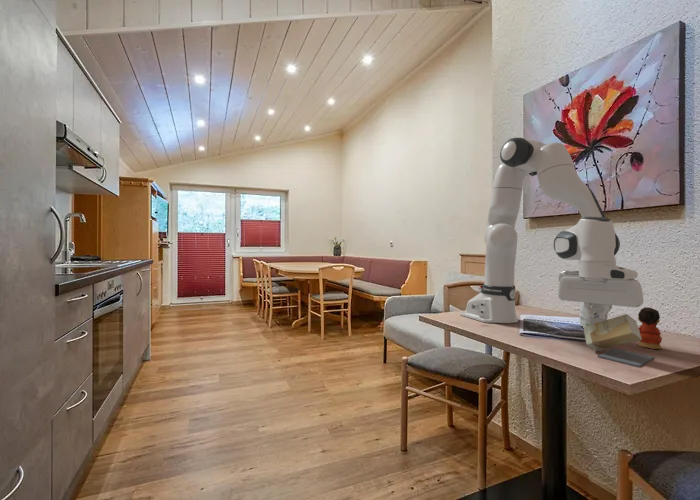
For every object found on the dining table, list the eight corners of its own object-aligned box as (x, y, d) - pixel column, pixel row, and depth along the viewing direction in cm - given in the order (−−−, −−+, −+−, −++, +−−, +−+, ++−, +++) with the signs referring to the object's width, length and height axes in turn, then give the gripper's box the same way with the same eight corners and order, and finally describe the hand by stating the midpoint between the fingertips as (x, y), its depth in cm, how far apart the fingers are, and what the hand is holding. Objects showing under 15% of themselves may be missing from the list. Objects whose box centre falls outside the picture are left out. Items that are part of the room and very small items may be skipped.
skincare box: (582, 326, 101) (626, 312, 93) (592, 333, 102) (636, 319, 94) (586, 345, 97) (632, 332, 88) (596, 352, 98) (643, 340, 89)
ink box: (578, 326, 126) (579, 295, 126) (594, 327, 125) (595, 296, 125) (590, 332, 118) (591, 299, 118) (607, 333, 117) (607, 300, 117)
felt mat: (597, 357, 93) (597, 355, 93) (614, 349, 100) (614, 348, 100) (638, 367, 86) (638, 365, 86) (654, 358, 92) (654, 356, 92)
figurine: (666, 351, 98) (668, 310, 98) (643, 349, 100) (644, 309, 100) (655, 345, 104) (656, 306, 104) (633, 343, 106) (634, 305, 106)
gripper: (553, 270, 105) (554, 315, 105) (636, 273, 88) (638, 326, 88) (563, 270, 108) (564, 312, 108) (644, 272, 92) (646, 323, 91)
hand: (597, 319), depth 98 cm, fingers closed
